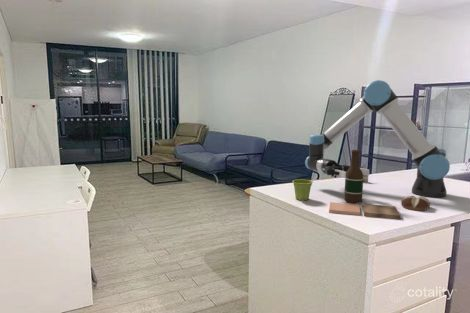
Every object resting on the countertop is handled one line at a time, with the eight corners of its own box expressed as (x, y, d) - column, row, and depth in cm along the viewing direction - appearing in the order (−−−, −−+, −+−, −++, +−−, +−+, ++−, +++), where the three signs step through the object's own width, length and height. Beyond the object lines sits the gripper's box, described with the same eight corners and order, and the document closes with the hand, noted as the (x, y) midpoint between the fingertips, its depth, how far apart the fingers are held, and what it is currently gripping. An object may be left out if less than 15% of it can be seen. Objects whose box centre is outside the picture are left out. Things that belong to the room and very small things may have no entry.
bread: (432, 207, 143) (433, 196, 142) (425, 213, 135) (426, 201, 134) (404, 202, 150) (405, 192, 150) (396, 207, 142) (397, 196, 141)
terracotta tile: (358, 207, 142) (358, 204, 142) (360, 215, 131) (360, 212, 131) (330, 204, 146) (330, 202, 146) (329, 212, 135) (329, 209, 135)
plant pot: (312, 202, 150) (313, 183, 149) (291, 201, 152) (292, 182, 151) (311, 197, 159) (312, 179, 158) (292, 196, 161) (292, 178, 160)
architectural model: (366, 184, 190) (367, 171, 189) (354, 182, 195) (355, 170, 194) (368, 183, 193) (368, 170, 192) (356, 181, 197) (356, 169, 196)
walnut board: (395, 209, 138) (395, 206, 138) (400, 219, 126) (400, 215, 126) (362, 207, 142) (362, 203, 142) (364, 216, 130) (364, 212, 130)
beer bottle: (353, 204, 146) (356, 151, 143) (340, 200, 153) (342, 149, 150) (365, 202, 150) (368, 150, 147) (352, 198, 157) (355, 148, 154)
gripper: (346, 172, 173) (377, 179, 153) (306, 175, 163) (334, 184, 144) (347, 158, 172) (378, 163, 152) (306, 160, 162) (334, 167, 143)
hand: (357, 173), depth 148 cm, fingers open, 13 cm apart
